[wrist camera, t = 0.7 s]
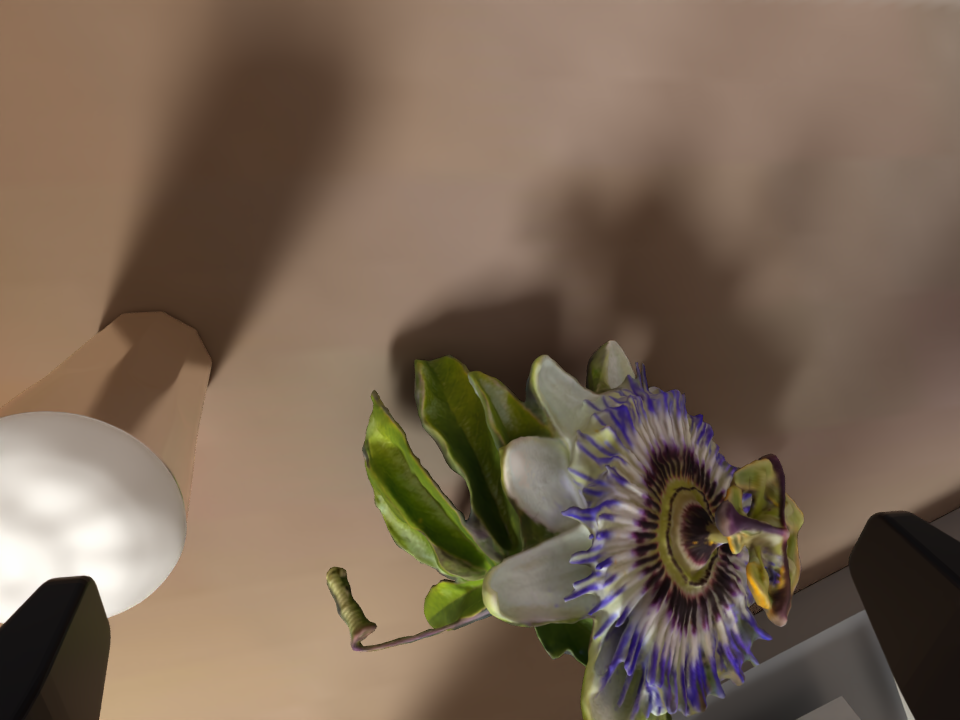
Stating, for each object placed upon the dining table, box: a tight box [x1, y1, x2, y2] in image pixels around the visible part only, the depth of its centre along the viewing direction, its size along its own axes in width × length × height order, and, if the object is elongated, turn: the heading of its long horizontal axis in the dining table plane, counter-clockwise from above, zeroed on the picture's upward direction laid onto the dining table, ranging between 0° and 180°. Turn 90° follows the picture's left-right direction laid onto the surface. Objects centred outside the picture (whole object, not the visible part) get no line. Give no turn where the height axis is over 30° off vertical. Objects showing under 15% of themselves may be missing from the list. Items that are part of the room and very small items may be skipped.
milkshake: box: [0, 311, 212, 623], centre depth 17 cm, size 4×5×10 cm
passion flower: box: [327, 340, 804, 720], centre depth 22 cm, size 11×11×12 cm
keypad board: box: [671, 508, 960, 720], centre depth 30 cm, size 24×10×2 cm, turn 116°
